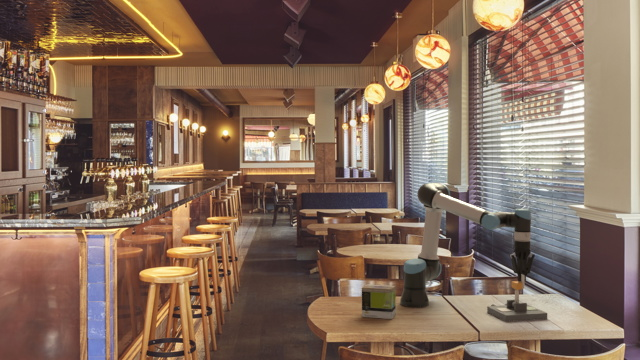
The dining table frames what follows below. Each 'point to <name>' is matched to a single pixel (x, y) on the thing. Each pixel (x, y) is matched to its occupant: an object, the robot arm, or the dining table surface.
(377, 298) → the tea box
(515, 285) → the breaker lever
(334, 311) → the dining table surface
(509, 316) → the breaker box
